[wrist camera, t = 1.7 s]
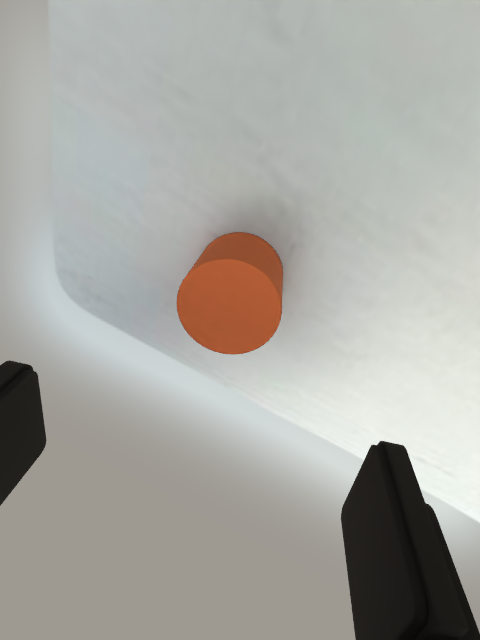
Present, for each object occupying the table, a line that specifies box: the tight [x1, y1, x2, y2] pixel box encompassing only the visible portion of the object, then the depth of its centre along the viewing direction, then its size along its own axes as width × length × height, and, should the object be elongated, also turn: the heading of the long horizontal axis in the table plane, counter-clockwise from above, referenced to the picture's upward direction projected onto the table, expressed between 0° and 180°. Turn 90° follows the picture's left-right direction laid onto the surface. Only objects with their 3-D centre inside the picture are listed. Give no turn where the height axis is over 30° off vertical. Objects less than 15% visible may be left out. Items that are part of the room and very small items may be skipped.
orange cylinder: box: [177, 232, 283, 354], centre depth 20 cm, size 5×5×5 cm
